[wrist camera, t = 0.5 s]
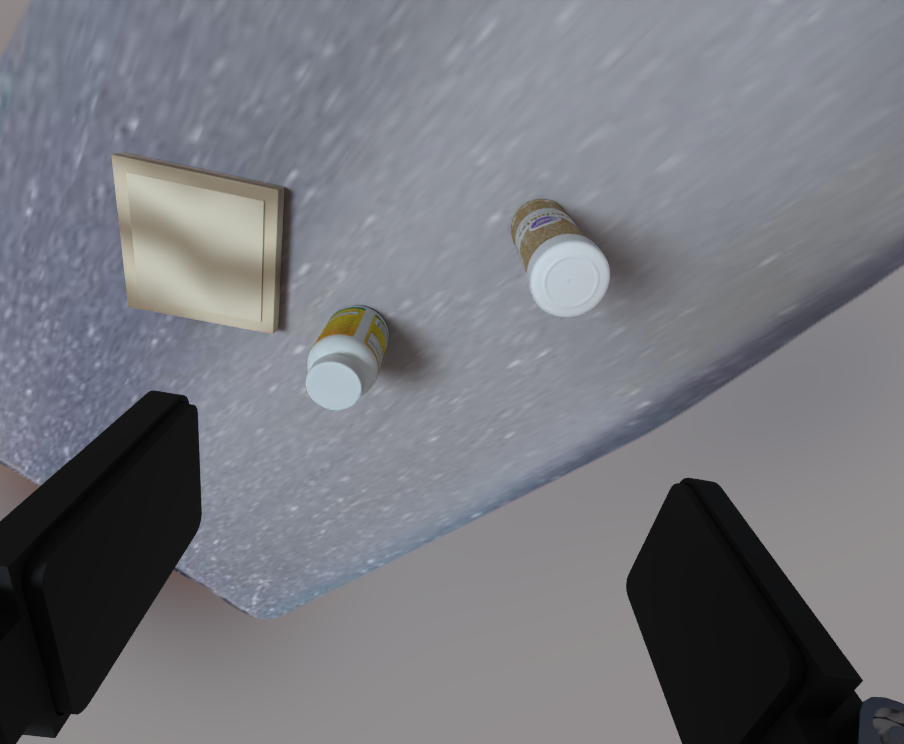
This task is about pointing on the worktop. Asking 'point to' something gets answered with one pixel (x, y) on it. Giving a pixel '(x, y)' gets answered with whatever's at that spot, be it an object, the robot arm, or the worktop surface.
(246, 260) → the cream square tray
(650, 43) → the worktop surface
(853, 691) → the robot arm
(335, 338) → the supplement bottle
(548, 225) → the sprinkles bottle
